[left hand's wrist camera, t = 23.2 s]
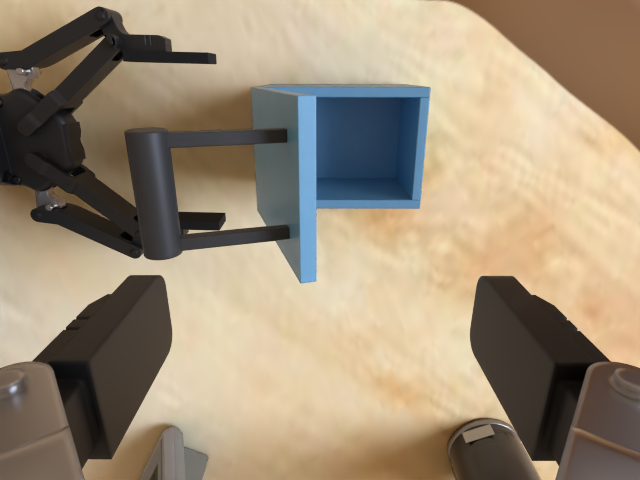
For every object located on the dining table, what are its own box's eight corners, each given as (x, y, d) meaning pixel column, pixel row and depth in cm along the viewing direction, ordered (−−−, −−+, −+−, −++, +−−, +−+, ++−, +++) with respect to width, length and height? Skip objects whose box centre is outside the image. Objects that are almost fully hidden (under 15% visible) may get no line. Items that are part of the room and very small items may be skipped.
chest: (408, 84, 41) (430, 87, 32) (401, 183, 44) (419, 208, 36) (270, 84, 41) (257, 86, 32) (274, 183, 44) (263, 208, 36)
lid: (316, 95, 20) (110, 97, 17) (316, 281, 23) (145, 305, 21) (263, 87, 32) (138, 87, 30) (268, 209, 36) (156, 219, 33)
